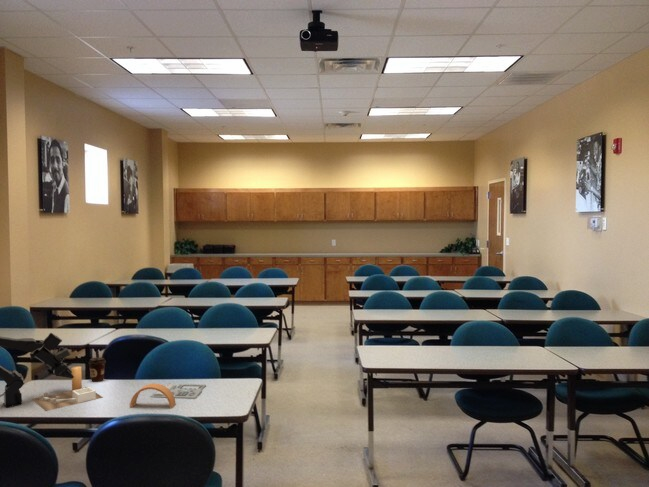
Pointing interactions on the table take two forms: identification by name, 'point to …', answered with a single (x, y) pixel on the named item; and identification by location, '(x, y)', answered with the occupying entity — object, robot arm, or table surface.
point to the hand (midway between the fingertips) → (72, 375)
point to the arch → (159, 388)
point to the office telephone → (181, 391)
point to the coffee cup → (97, 369)
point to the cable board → (57, 400)
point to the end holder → (84, 394)
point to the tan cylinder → (76, 378)
